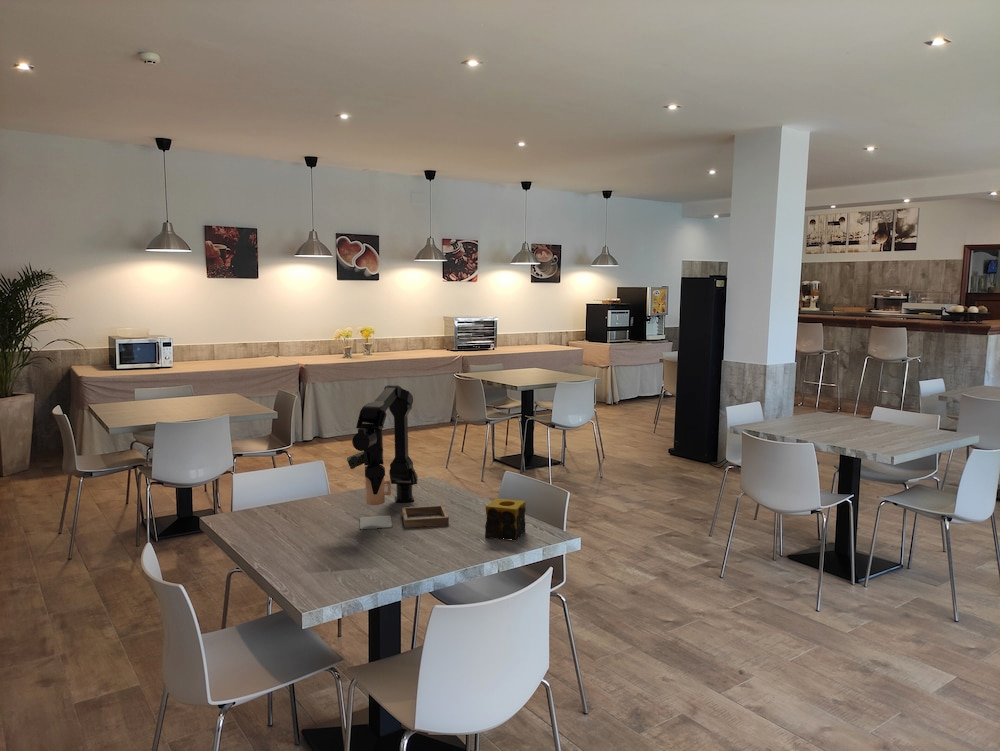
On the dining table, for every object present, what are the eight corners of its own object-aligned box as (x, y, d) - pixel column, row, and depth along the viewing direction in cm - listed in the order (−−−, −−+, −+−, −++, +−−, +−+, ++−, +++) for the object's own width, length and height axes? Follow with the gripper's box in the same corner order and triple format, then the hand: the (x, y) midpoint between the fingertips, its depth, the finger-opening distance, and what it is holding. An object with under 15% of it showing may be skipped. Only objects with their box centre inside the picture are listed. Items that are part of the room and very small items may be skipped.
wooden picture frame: (402, 514, 243) (402, 507, 243) (443, 512, 246) (443, 505, 246) (404, 527, 229) (404, 520, 229) (448, 524, 232) (448, 517, 232)
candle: (484, 538, 219) (484, 506, 218) (495, 528, 229) (495, 497, 228) (516, 541, 216) (516, 509, 215) (526, 531, 226) (526, 500, 225)
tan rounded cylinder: (365, 500, 236) (365, 473, 235) (390, 498, 238) (389, 472, 237) (366, 505, 230) (365, 478, 229) (391, 504, 232) (390, 476, 231)
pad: (359, 518, 239) (359, 517, 239) (390, 516, 241) (390, 515, 241) (360, 529, 228) (360, 528, 228) (392, 527, 230) (392, 526, 230)
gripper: (348, 439, 239) (349, 485, 241) (347, 451, 221) (349, 501, 223) (382, 438, 241) (383, 483, 243) (384, 450, 223) (385, 499, 225)
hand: (375, 491), depth 233 cm, fingers closed on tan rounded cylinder, 6 cm apart
